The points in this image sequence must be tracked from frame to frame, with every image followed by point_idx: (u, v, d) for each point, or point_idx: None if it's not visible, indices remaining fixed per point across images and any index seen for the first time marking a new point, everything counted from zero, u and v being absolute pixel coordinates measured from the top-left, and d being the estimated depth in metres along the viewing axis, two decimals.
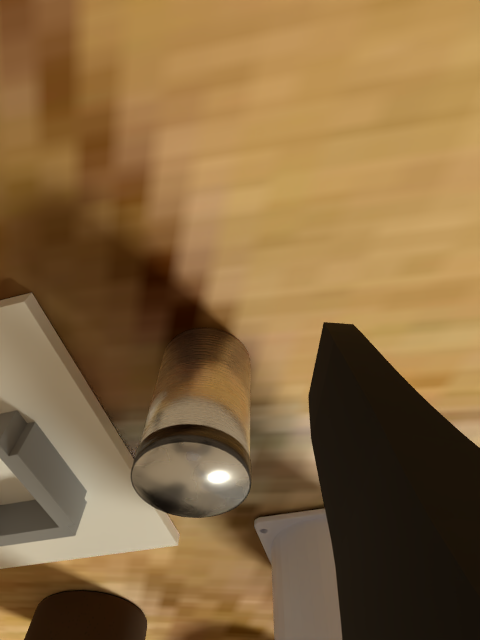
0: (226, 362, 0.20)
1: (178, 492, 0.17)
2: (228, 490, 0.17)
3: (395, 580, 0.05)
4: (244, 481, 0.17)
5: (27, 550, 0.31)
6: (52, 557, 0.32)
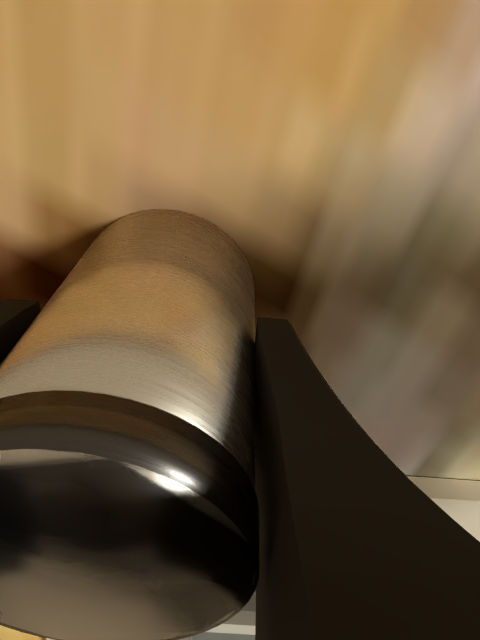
0: (73, 270, 0.09)
1: (121, 595, 0.06)
2: (139, 513, 0.05)
3: (276, 573, 0.05)
4: (98, 467, 0.05)
5: None
6: None
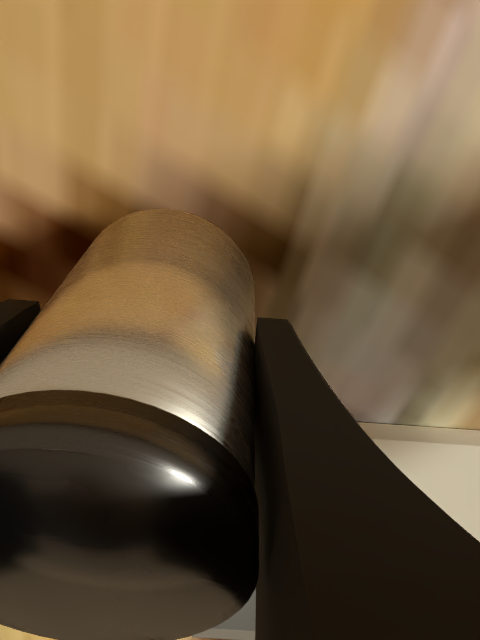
0: (73, 270, 0.09)
1: (121, 594, 0.06)
2: (139, 512, 0.05)
3: (276, 573, 0.05)
4: (97, 467, 0.05)
5: None
6: None
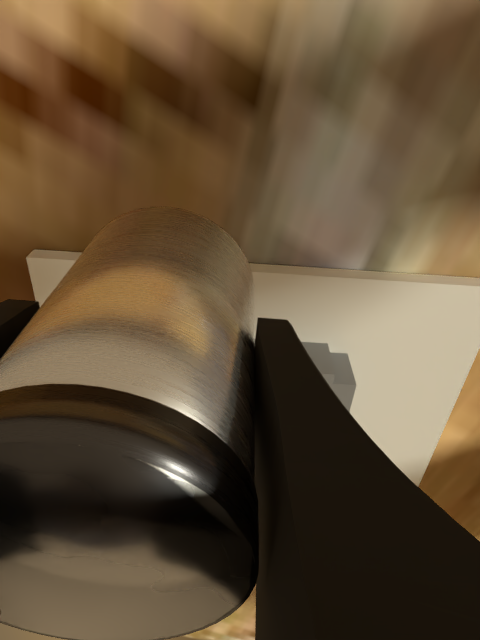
0: (72, 268, 0.09)
1: (120, 591, 0.06)
2: (137, 506, 0.05)
3: (276, 572, 0.05)
4: (94, 460, 0.05)
5: (399, 454, 0.24)
6: (428, 439, 0.24)
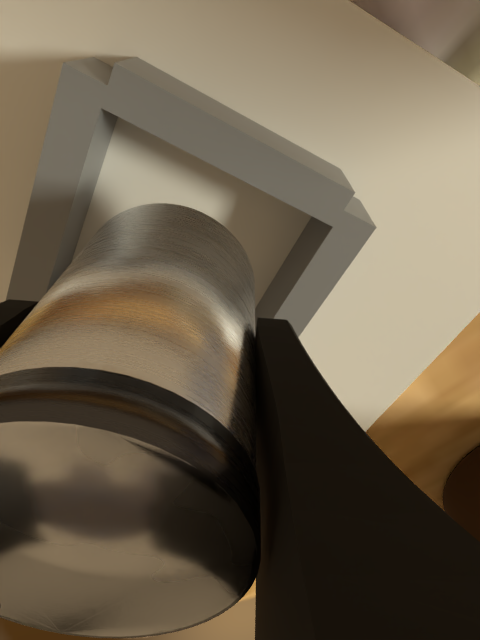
0: (72, 262, 0.09)
1: (120, 582, 0.06)
2: (136, 489, 0.05)
3: (276, 573, 0.05)
4: (92, 440, 0.04)
5: (349, 394, 0.18)
6: (394, 383, 0.17)
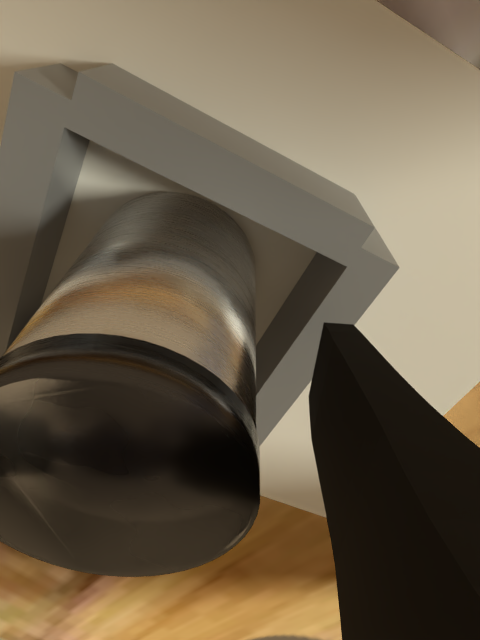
0: (87, 246, 0.10)
1: (139, 523, 0.07)
2: (153, 437, 0.06)
3: (395, 580, 0.05)
4: (117, 392, 0.05)
5: None
6: None
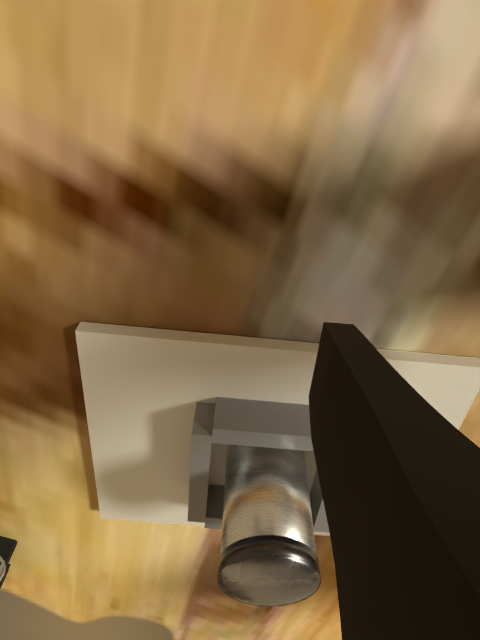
0: (229, 472, 0.23)
1: (283, 587, 0.20)
2: (278, 564, 0.19)
3: (395, 580, 0.05)
4: (265, 556, 0.18)
5: None
6: None
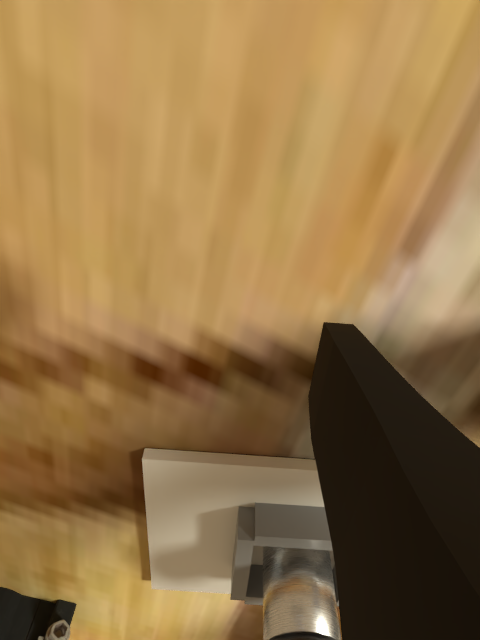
0: (267, 565, 0.28)
1: None
2: None
3: (395, 580, 0.05)
4: None
5: None
6: None
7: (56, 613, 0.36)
